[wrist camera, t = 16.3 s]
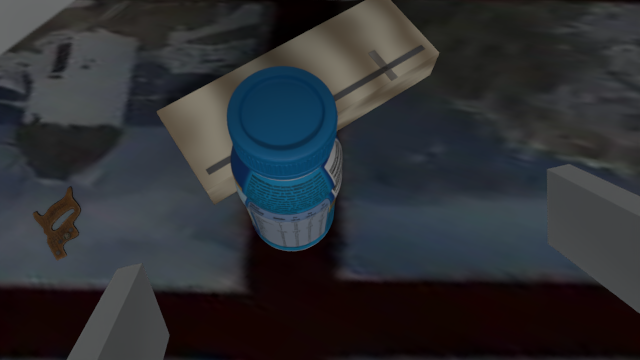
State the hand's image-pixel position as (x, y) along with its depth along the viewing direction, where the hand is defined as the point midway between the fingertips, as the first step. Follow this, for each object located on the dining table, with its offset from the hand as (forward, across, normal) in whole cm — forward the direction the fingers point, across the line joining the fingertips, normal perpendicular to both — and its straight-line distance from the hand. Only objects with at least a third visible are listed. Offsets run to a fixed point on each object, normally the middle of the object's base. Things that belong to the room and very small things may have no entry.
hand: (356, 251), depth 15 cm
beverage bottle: (+29, +2, +11) cm, 31 cm away
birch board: (+37, -2, +2) cm, 37 cm away
